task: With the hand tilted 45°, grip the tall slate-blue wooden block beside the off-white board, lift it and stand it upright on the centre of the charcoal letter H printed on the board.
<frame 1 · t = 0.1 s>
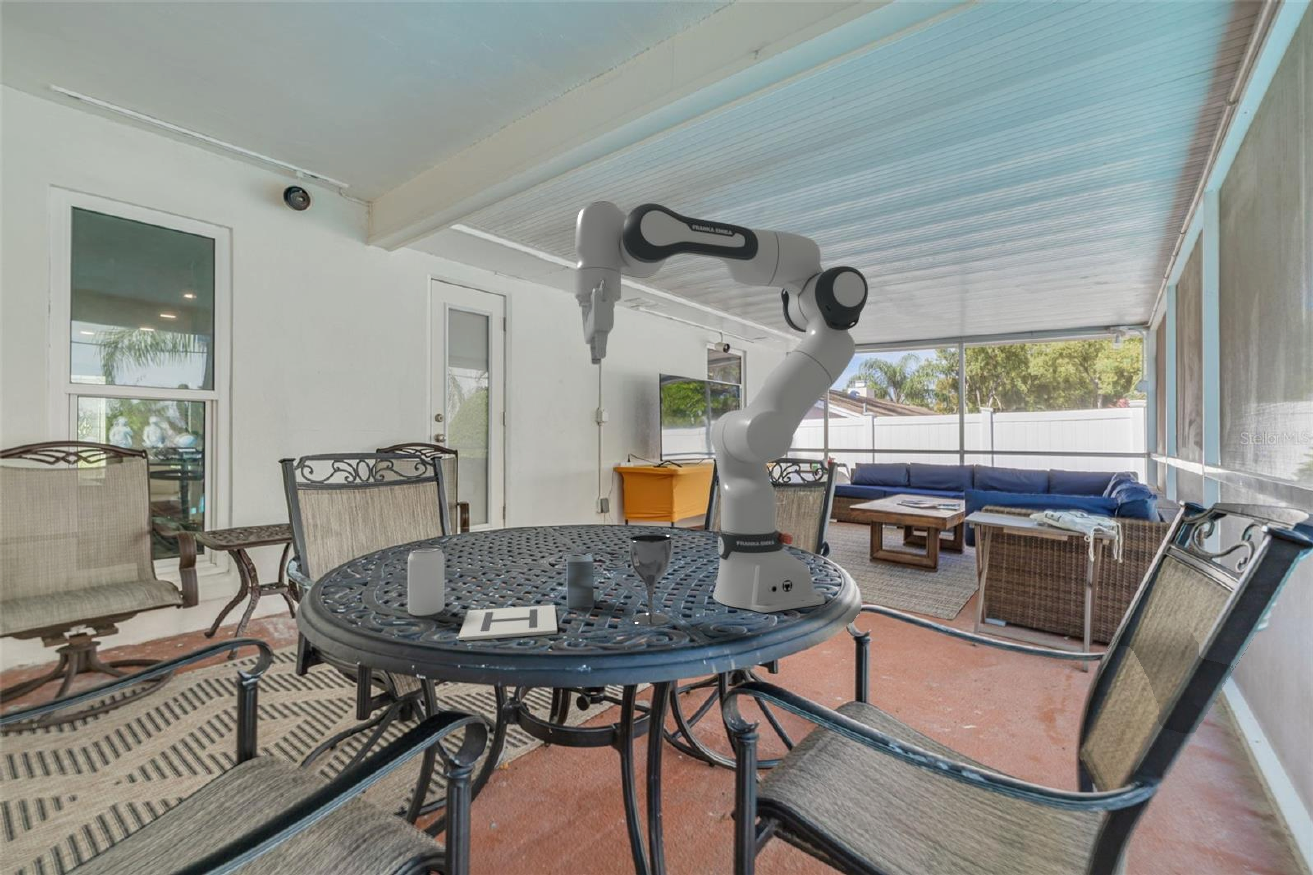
hand: (598, 361, 108), 48 cm above the table, tool pointing down, fingers open, 8 cm apart
can: (426, 612, 107), on the table
letter board: (510, 623, 100), on the table
wine glass: (650, 620, 102), on the table
slate block: (579, 603, 112), on the table
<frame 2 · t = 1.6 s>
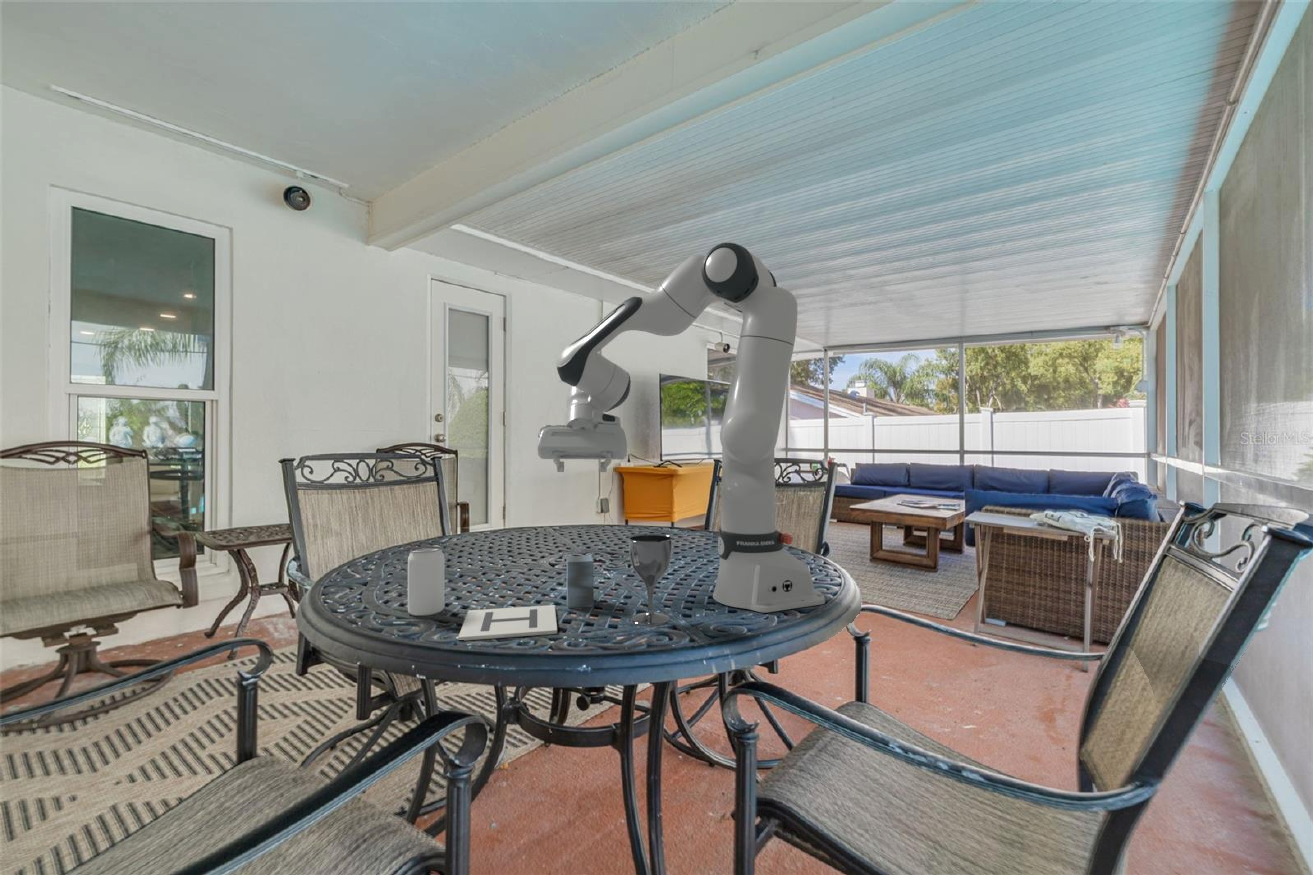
hand: (582, 470, 123), 26 cm above the table, tool tilted 45°, fingers open, 8 cm apart
nothing on the table moved.
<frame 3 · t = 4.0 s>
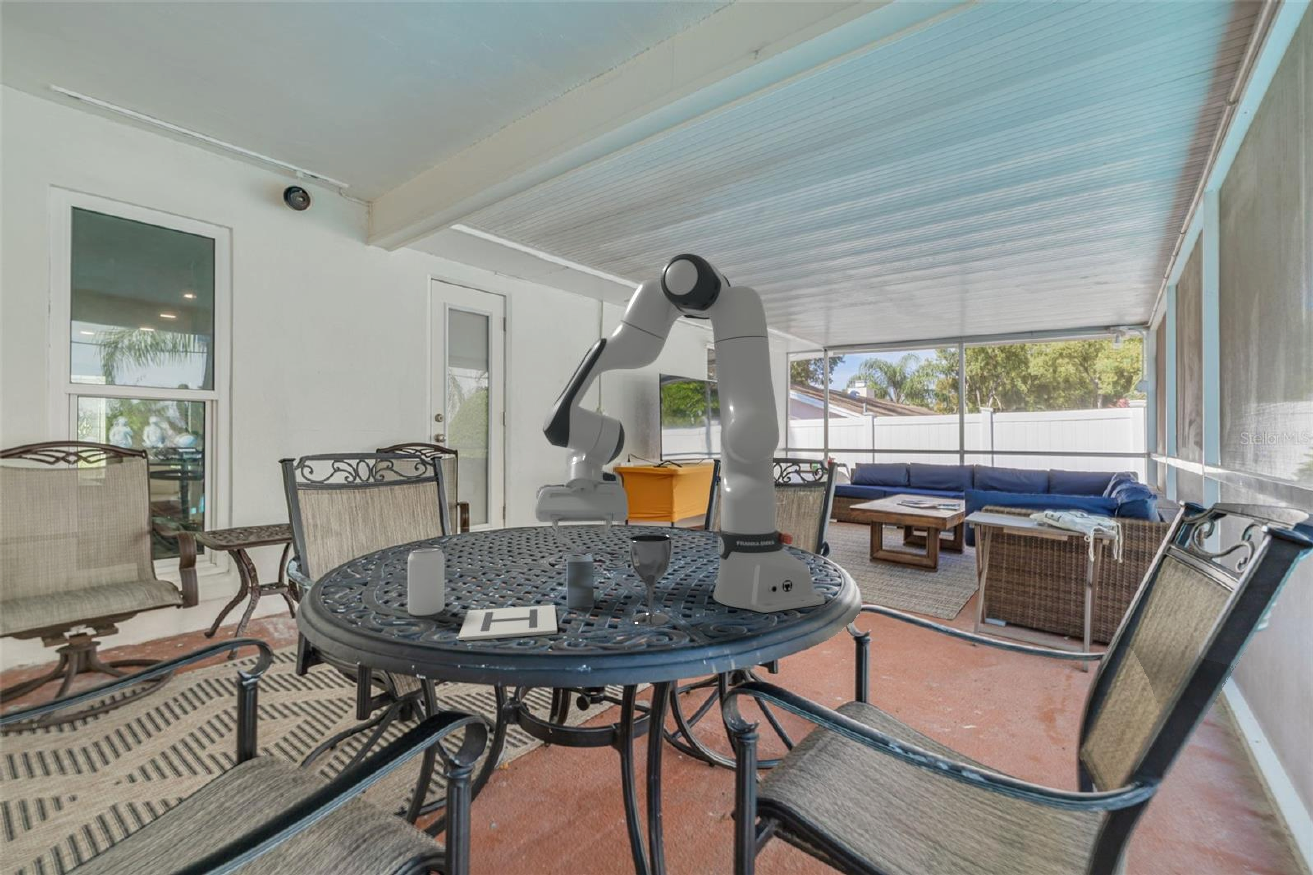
hand: (581, 535, 118), 12 cm above the table, tool tilted 45°, fingers open, 8 cm apart
nothing on the table moved.
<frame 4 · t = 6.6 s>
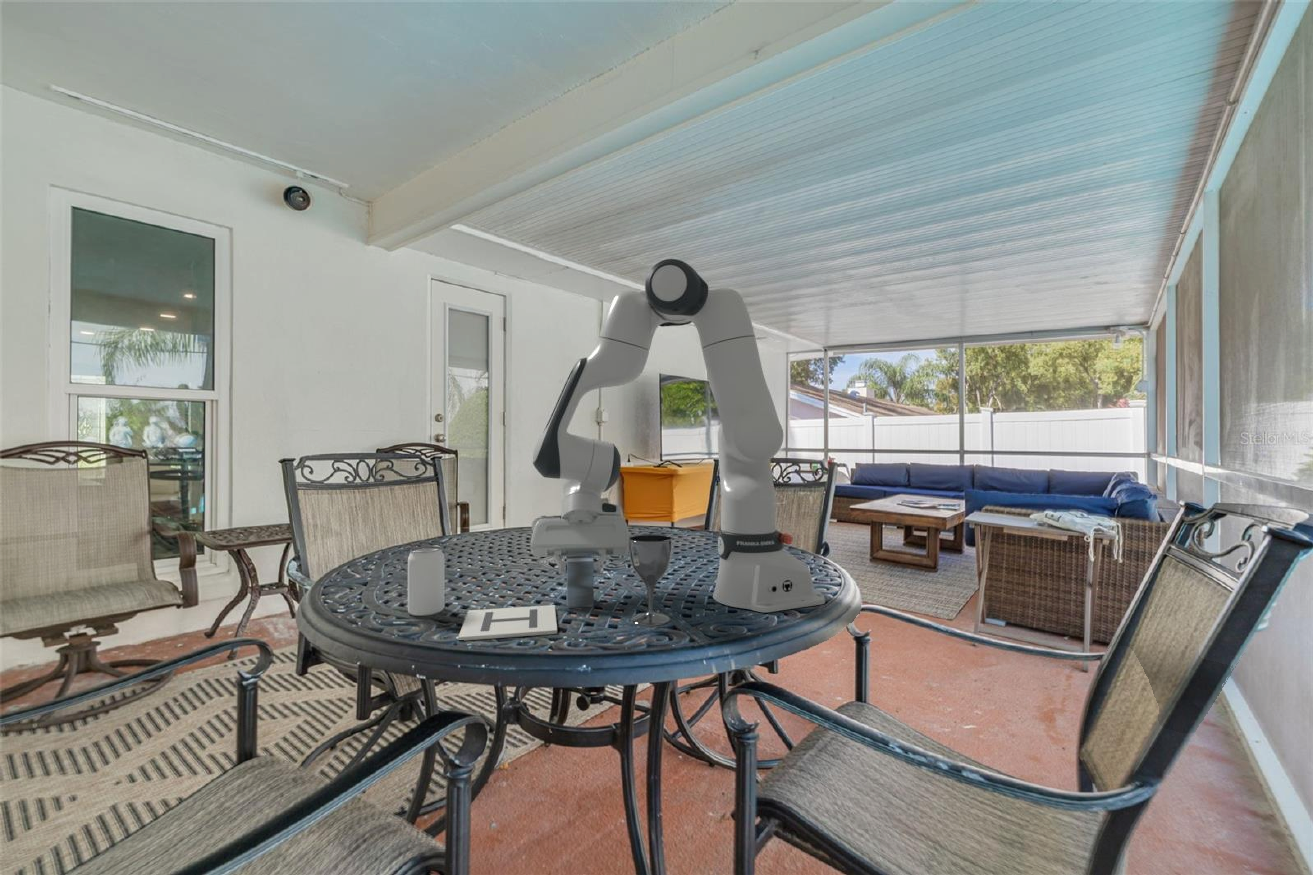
hand: (579, 572, 111), 6 cm above the table, tool tilted 45°, fingers closed on slate block, 5 cm apart
slate block: (579, 603, 112), on the table, touching gripper
everything else where it was.
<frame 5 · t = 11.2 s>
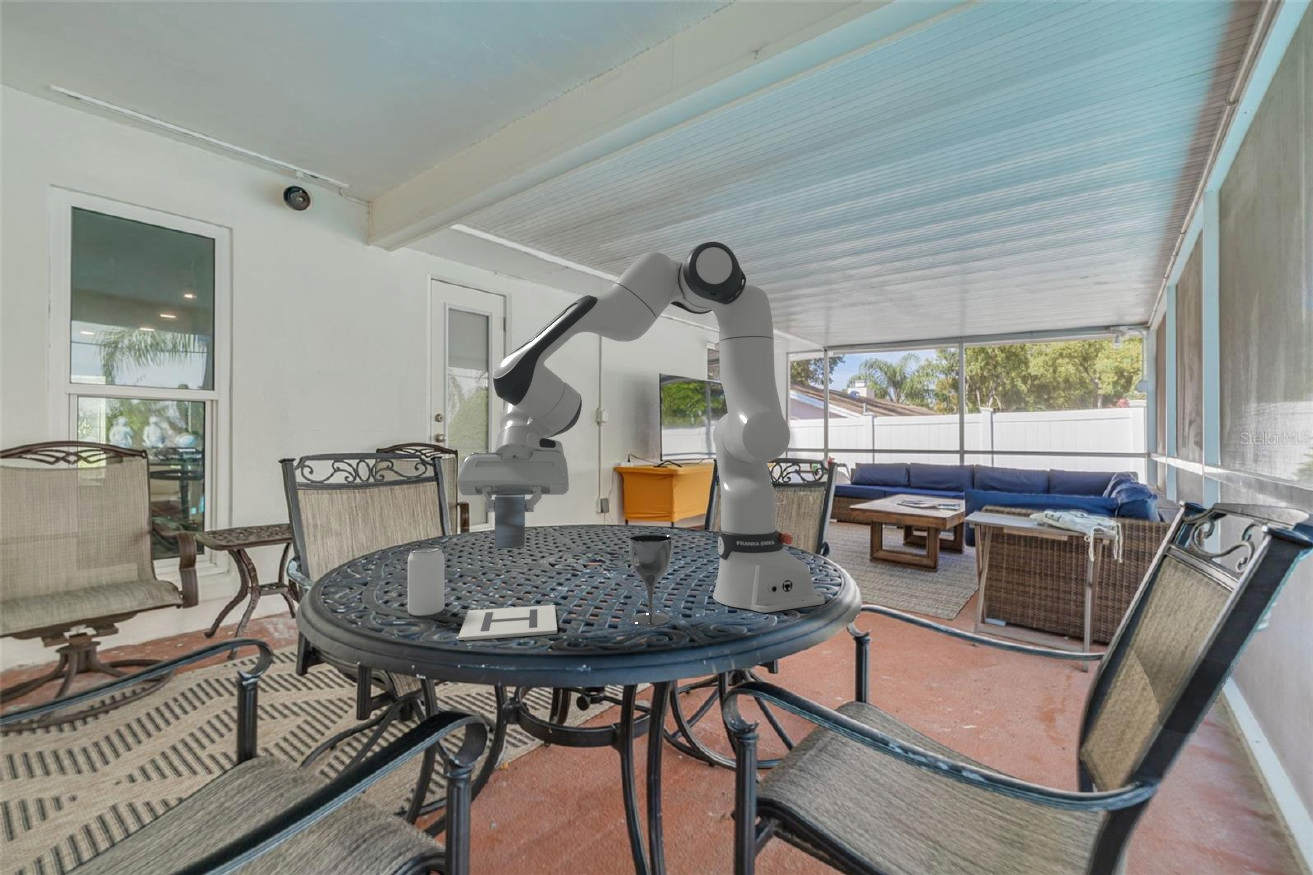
hand: (509, 510, 99), 20 cm above the table, tool tilted 45°, fingers closed on slate block, 5 cm apart
slate block: (510, 545, 100), point 14 cm above the table, touching gripper
everything else where it was.
when the fingers open (8 cm above the table, at t = 15.6 s): slate block drops 1 cm, resting on letter board.
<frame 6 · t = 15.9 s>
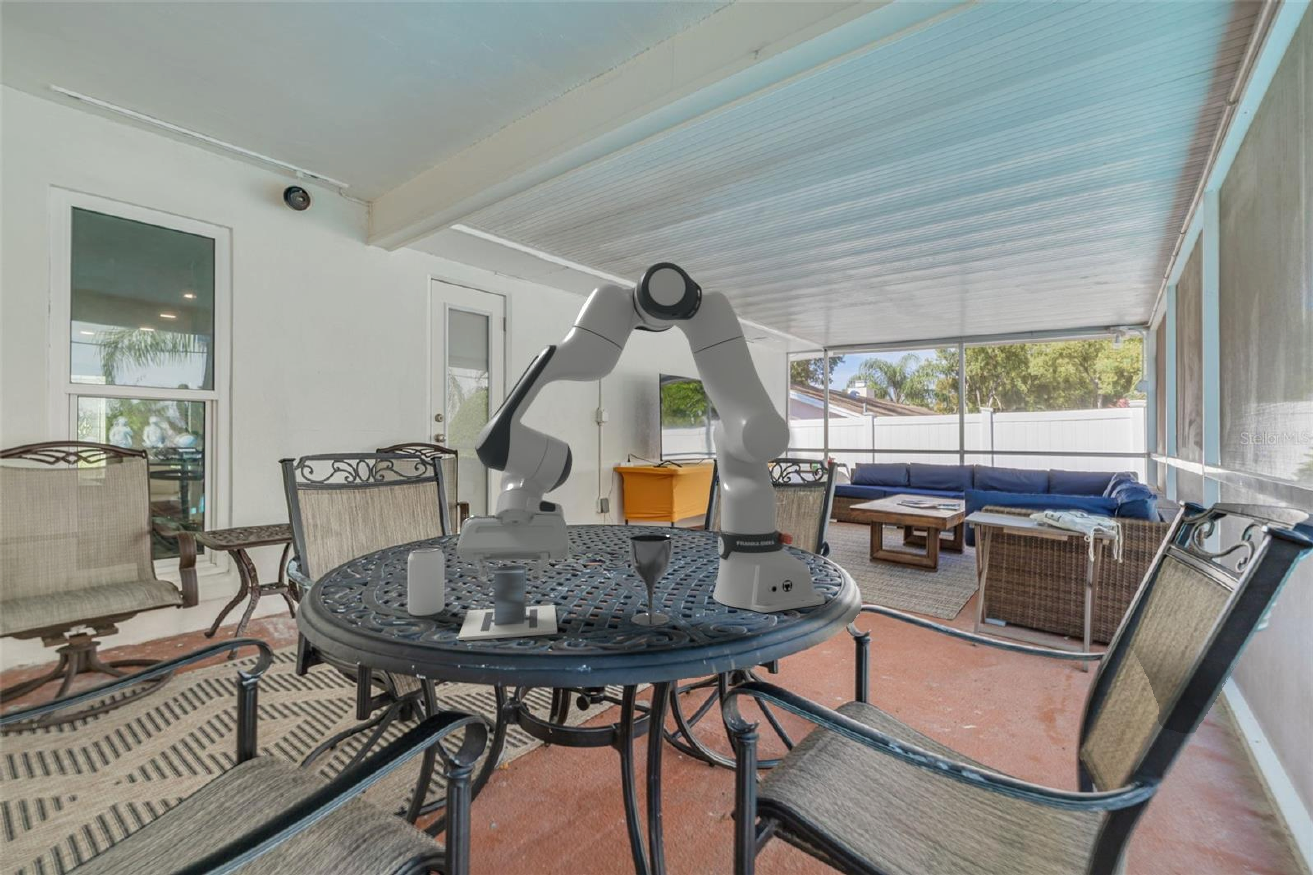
hand: (509, 578, 99), 8 cm above the table, tool tilted 45°, fingers open, 8 cm apart
slate block: (510, 619, 100), point 1 cm above the table, touching letter board
everything else where it was.
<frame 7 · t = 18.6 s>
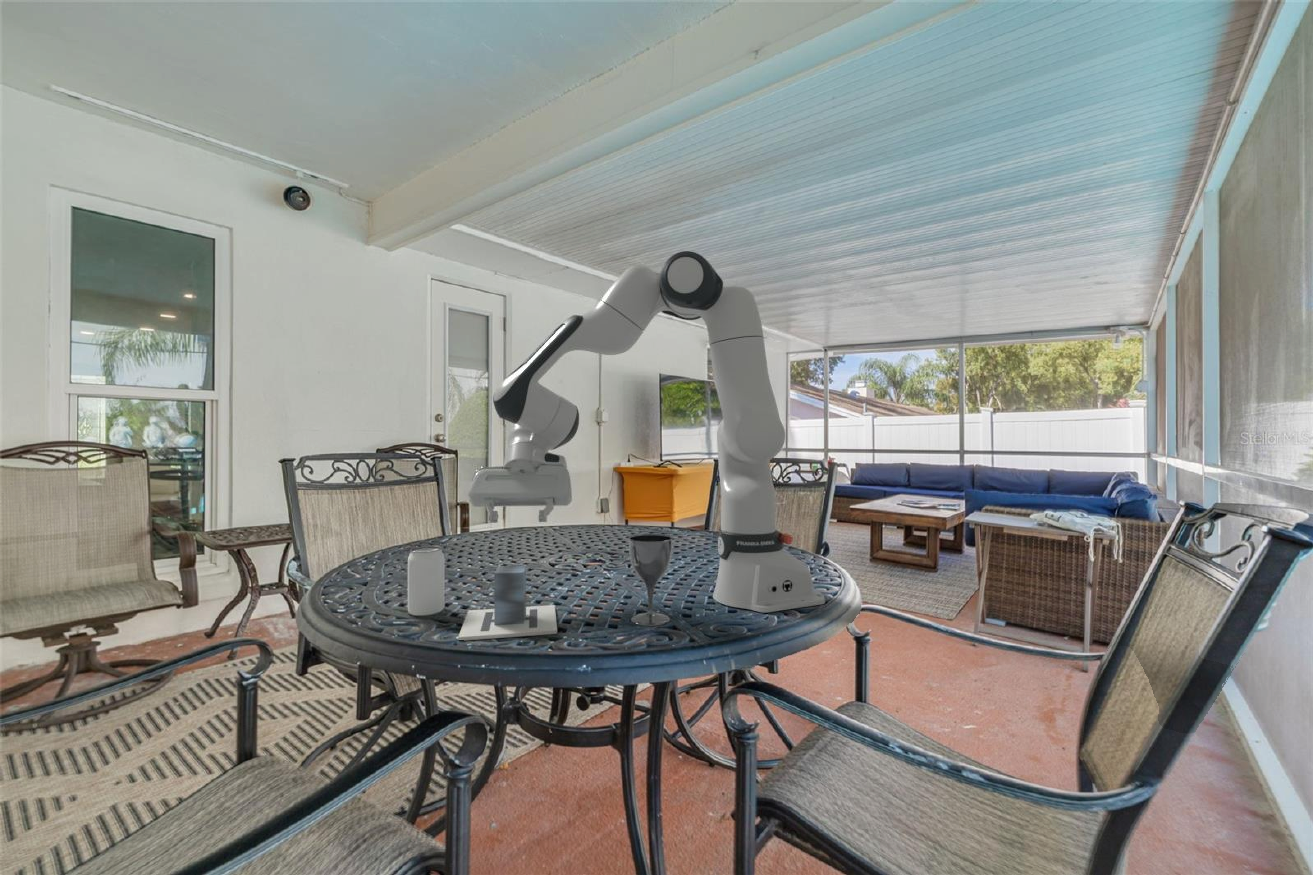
hand: (517, 520, 108), 17 cm above the table, tool tilted 45°, fingers open, 8 cm apart
nothing on the table moved.
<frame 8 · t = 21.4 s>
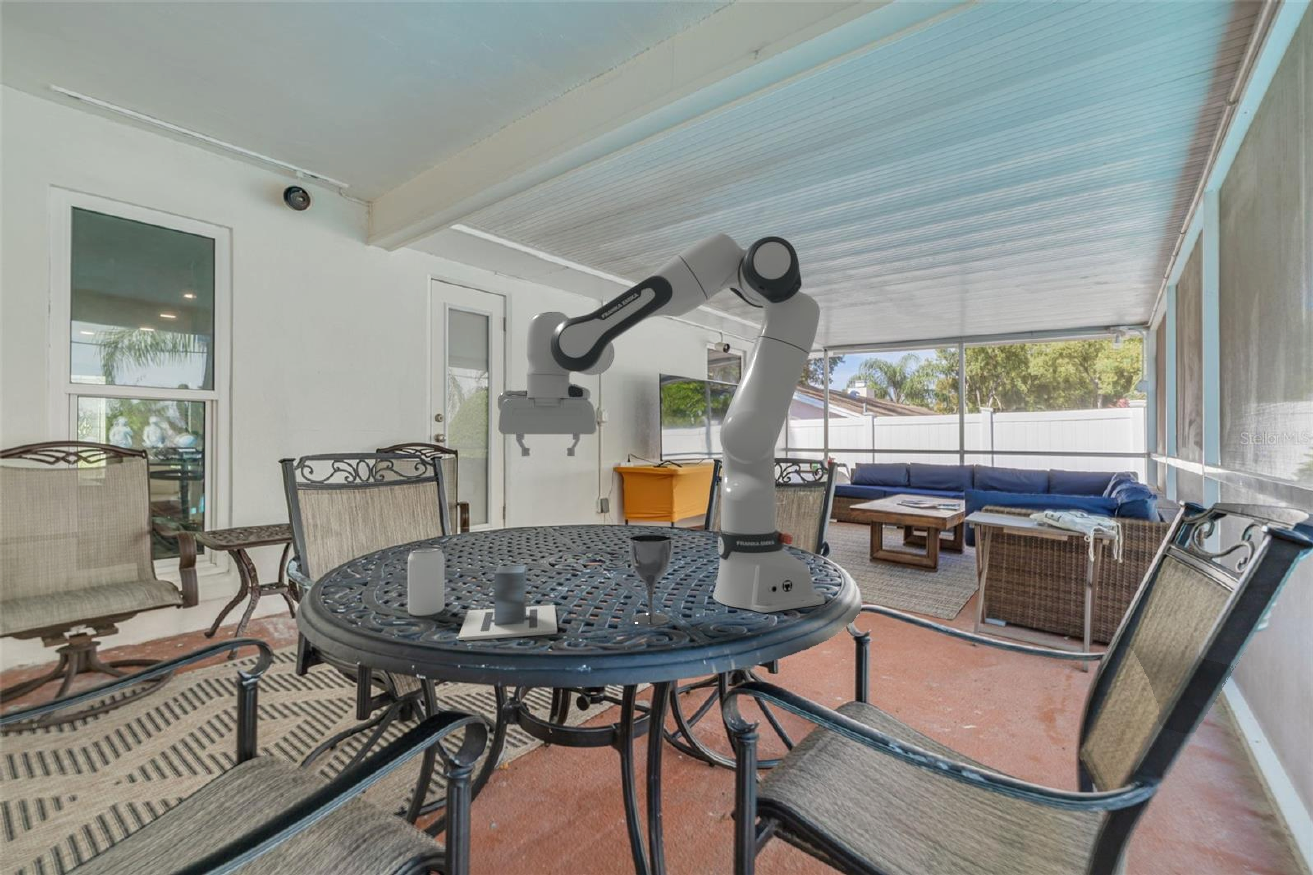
hand: (548, 456, 118), 29 cm above the table, tool pointing down, fingers open, 8 cm apart
nothing on the table moved.
at the end: slate block 0.0 cm off-centre on the letter board, point 0.6 cm above the letter board's base; slate block tilted 0°; the gripper is holding nothing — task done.
